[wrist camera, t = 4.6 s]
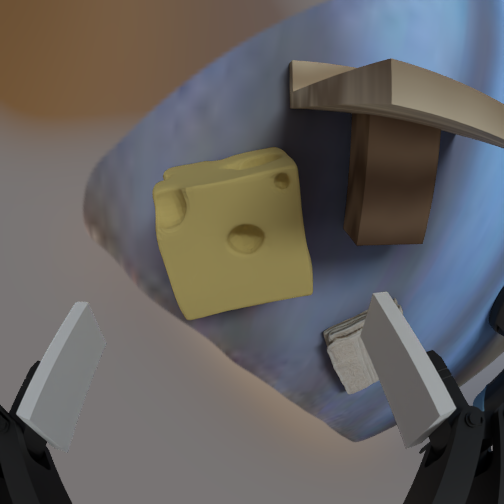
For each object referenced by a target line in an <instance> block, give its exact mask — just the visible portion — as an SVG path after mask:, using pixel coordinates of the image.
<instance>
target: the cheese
mask: <svg viewBox="0 0 504 504" xmlns="http://www.w3.org/2000/svg"><path fill="white" fill-rule="evenodd" d="M163 179H164V181H160V182H158V183H157V184H156V185H155V186H154V189H153V200H154V204H155V211H156V235H157V242H158V246H159V249H160V252H161V255H162V258H163V261H164V264H165V267H166V270H167V273H168V276H169V279H170V283H171V286H172V289H173V292H174V295H175V298H176V300H177V303H178V305H179V307H180V309H181V311H182V313H183V315H184V316H185V318H186V319H187V320H193V319H197V318H202V317H206V316H209V315H213V314H217V313H221V312H225V311H229V310H234V309H239V308H244V307H249V306H254V305H259V304H264V303H269V302H274V301H278V300H284V299H289V298H295V297H301V296H307V295H311V294H312V293H313V272H312V263H311V258H310V254H309V250H308V248H307V243H306V237H305V230H304V223H303V215H302V206H301V195H300V184H299V175H298V168H297V165H296V164H295V162H294V160H293V159H291V158H290V157H289V156H288V155H287V154H286V153H285V152H284V151H283V150H282V149H279V148H277V147H271V148H265V149H260V150H256V151H251V152H246V153H242V154H238V155H234V156H231V157H228V158H226V159H222V160H217V161H204V162H199V163H194V164H188V165H182V166H177V167H172V168H169V169H168V170H166V171H165V172H164V175H163Z"/></svg>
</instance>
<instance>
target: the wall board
mask: <svg viewBox="0 0 504 504" xmlns="http://www.w3.org/2000/svg"><path fill="white" fill-rule="evenodd" d="M289 67H290V109H310V110H324V111H335V112H345V113H352V126H351V148H350V164H349V177H348V189H347V199H346V209H345V218H344V226H343V229H344V230H345V231H346V233H347V234H348V235H349V236H350V238H351V239H352V240H353V241H354V243H355V244H356V245H357V246H362V245H397V244H423V240H424V236H425V232H426V228H427V223H428V218H429V214H430V209H431V203H432V198H433V192H434V186H435V180H436V173H437V165H438V157H439V147H440V135H441V130H442V131H446V132H450V133H453V134H457V135H461V136H465V137H468V138H472V139H475V140H479V141H482V142H486V143H489V144H492V145H495V146H498V147H501V148H504V104H502V103H501V102H499V101H497V100H495V99H493V98H491V97H489V96H488V95H486V94H484V93H482V92H480V91H478V90H475V89H473V88H471V87H469V86H467V85H465V84H462V83H460V82H458V81H455V80H453V79H451V78H448V77H446V76H443V75H441V74H438V73H435V72H433V71H430V70H427V69H424V68H421V67H418V66H415V65H412V64H408V63H405V62H402V61H398V60H395V59H387V60H384V61H380V62H376V63H373V64H369V65H366V66H363V67H359V68H354V67H348V66H341V65H334V64H326V63H317V62H307V61H294V60H292V61H291V62H290V63H289Z"/></svg>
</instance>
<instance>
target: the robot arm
mask: <svg viewBox="0 0 504 504" xmlns="http://www.w3.org/2000/svg"><path fill="white" fill-rule="evenodd" d="M489 323H490V325H491V326H492V328H493V329H494V330H495V331H496V332H497V333H499V334H501V335H502V336H504V288H503V289H502V291H501V292H500V294H499V296H498V297H497V299H496V301H495V303H494V305H493V308H492V310H491V313H490V317H489ZM360 337H361V339H362V341H363V343H364V346H365V348H366V350H367V352H368V355H369V357H370V359H371V362H372V364H373V366H374V368H375V371H376V373H377V376H378V378H379V380H380V383H381V385H382V388H383V390H384V392H385V395H386V397H387V400H388V402H389V405H390V407H391V410H392V413H393V415H394V418H395V420H396V423H397V426H398V428H399V431H400V434H401V437H402V439H403V442H404V445H405V448H406V449H407V448H409V447H412V446H415V445H417V444H420V443H422V442H423V441H424V440H425V439H426V438H427V437H429V439H430V442H429V443H428V444H427V445H425V446H424V447H423V448H422V449H421V450H420V452H419V453H420V454H421V453H422V452H424V451H425V450H426V451H425V454H424V457H423V459H422V462H421V465H420V467H419V470H418V472H417V474H416V477H415V479H414V481H413V484H412V486H411V488H410V491H409V492H408V495H407V497H406V499H405V501H404V503H403V504H504V369H503V370H502V372H501V373H499V375H498V376H497V377H495V379H493V381H492V382H490V383H489V384H487V385H486V387H485V388H484V389H483V391H481V393H479V394H478V395H477V397H476V398H475V400H474V402H473V406H469V405H468V403H467V402H466V400H465V398H464V396H463V394H462V393H461V391H460V389H459V387H458V385H457V383H456V382H455V380H454V378H453V376H451V373H450V371H449V369H447V366H446V364H445V363H444V361H443V359H442V358H441V357H440V356H439V355H438V354H437V353H435V352H434V351H433V350H432V351H428V352H425V350H424V348H423V347H422V345H421V343H420V342H419V340H418V338H417V337H416V335H415V334H414V332H413V330H412V329H411V327H410V326H409V324H408V322H407V321H406V319H405V318H404V316H403V315H402V313H401V312H400V310H399V309H398V307H397V306H396V304H395V303H394V301H393V300H392V298H391V297H390V295H389V294H388V292H380V293H373V295H372V299H371V302H370V306H369V309H368V313H367V316H366V319H365V322H364V326H363V329H362V332H361V335H360ZM106 344H107V343H106V341H105V339H104V337H103V335H102V333H101V330H100V328H99V326H98V324H97V322H96V319H95V317H94V315H93V312H92V310H91V308H90V305H89V303H88V302H76V303H75V304H74V306H73V307H72V309H71V311H70V312H69V314H68V315H67V317H66V319H65V320H64V322H63V324H62V325H61V327H60V329H59V330H58V332H57V334H56V335H55V337H54V339H53V340H52V342H51V344H50V346H49V347H48V350H47V351H46V353H45V355H44V357H43V358H42V360H41V361H37V362H36V363H35V364H34V365H33V366H32V367H31V368H30V370H29V372H28V374H27V376H26V379H25V380H24V382H23V384H22V385H23V386H21V388H20V390H19V392H18V394H17V396H16V399H15V401H14V403H13V405H12V408H11V410H10V412H9V413H8V412H7V411H6V410H5V409H4V408H3V407H2V406H1V405H0V504H72V502H71V500H70V498H69V496H68V494H67V492H66V490H65V488H64V486H63V484H62V482H61V479H60V477H59V474H58V472H57V470H56V467H55V465H54V462H53V460H52V457H51V454H50V452H49V450H48V448H47V447H46V443H47V442H48V443H49V444H51V445H52V446H53V447H54V448H56V449H59V450H62V451H65V452H67V453H68V451H69V447H70V444H71V440H72V437H73V434H74V430H75V427H76V424H77V421H78V418H79V415H80V412H81V409H82V406H83V403H84V400H85V397H86V395H87V392H88V389H89V386H90V383H91V381H92V378H93V376H94V373H95V371H96V368H97V365H98V363H99V361H100V358H101V356H102V353H103V351H104V348H105V346H106ZM492 445H493V451H491V446H492Z"/></svg>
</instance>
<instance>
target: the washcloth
mask: <svg viewBox="0 0 504 504" xmlns="http://www.w3.org/2000/svg"><path fill="white" fill-rule="evenodd" d="M393 301H394V303H395V304H396V306H397V307H398V309H399V310H400V312H401V313H402V315H403V310H402V307H401V306H400V305H397V301H396V299H395V298H394V299H393ZM367 313H368V310H366V311H365V312H362V313H361V314H359V315H357V316H355V317H352V318H350V319H348V320H345V321H343V322H341V323H339V324H336V325H334V326H332V327H330V328H328V329H327V330H325V331H324V333H323V334H324V338H325V341H326V344H327V352H328V355H329V356H330V359H331V362H332V364H333V368H334V370H335V371H336V373H337V375H338V376H339V378H340V381H341V382H342V384H343V385H344V387H345V389H346V391H347V393H348V394H353V393H355V392H357V391H360V390H362V389H364V388H366V387H368V386H369V385H371V384H373V383H375V382H376V381H378V380H379V378H378V376H377V373H376V371H375V368H374V366H373V364H372V362H371V359H370V357H369V355H368V352H367V350H366V348H365V346H364V343H363V341H362V339H361V337H360V335H361V332H362V329H363V326H364V322H365V319H366V316H367Z"/></svg>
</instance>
